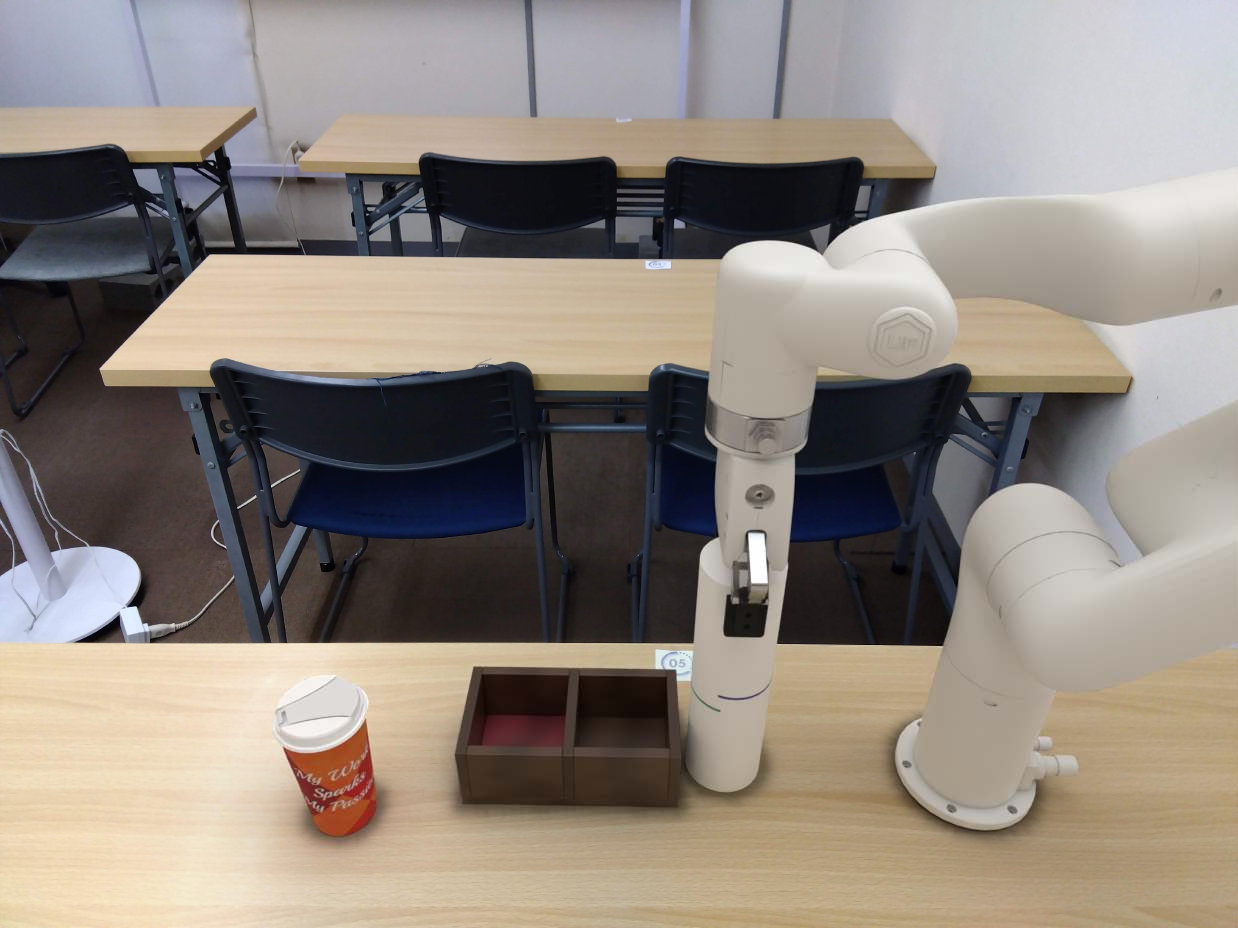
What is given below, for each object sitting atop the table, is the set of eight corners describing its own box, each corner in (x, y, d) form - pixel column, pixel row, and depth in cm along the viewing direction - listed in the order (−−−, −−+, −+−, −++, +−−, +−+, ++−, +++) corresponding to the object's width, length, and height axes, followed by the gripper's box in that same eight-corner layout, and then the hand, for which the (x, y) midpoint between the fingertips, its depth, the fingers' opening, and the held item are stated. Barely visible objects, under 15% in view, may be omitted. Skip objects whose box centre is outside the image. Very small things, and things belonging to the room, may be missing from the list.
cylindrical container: (756, 798, 80) (786, 595, 66) (680, 784, 81) (694, 582, 67) (761, 737, 86) (789, 539, 72) (690, 725, 87) (705, 529, 73)
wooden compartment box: (673, 717, 88) (676, 668, 84) (677, 807, 79) (681, 757, 75) (479, 714, 88) (473, 665, 84) (461, 803, 79) (454, 753, 75)
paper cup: (310, 861, 74) (277, 755, 67) (295, 793, 80) (262, 688, 72) (399, 824, 77) (377, 719, 70) (378, 761, 83) (355, 658, 75)
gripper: (832, 483, 55) (798, 671, 64) (790, 364, 70) (768, 531, 79) (715, 481, 55) (698, 669, 64) (698, 362, 70) (686, 530, 79)
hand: (736, 593), depth 72 cm, fingers open, 9 cm apart
